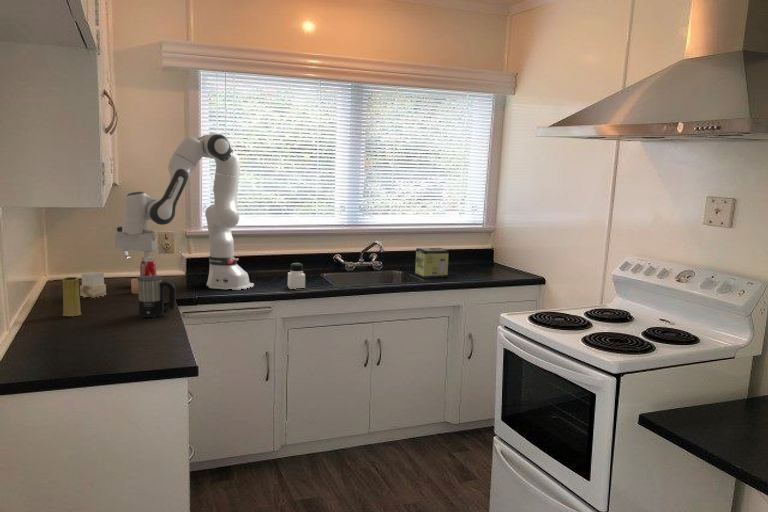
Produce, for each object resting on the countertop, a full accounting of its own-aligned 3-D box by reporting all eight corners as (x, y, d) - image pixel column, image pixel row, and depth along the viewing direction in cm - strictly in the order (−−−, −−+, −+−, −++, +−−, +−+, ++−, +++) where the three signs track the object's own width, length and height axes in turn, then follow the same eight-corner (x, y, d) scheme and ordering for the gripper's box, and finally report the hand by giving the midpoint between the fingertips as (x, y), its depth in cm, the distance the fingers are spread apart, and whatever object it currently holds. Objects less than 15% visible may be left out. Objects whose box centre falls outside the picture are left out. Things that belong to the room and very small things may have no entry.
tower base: (106, 295, 256) (105, 284, 256) (93, 298, 250) (92, 287, 249) (93, 293, 259) (93, 282, 258) (80, 297, 252) (80, 285, 251)
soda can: (137, 285, 279) (136, 260, 277) (149, 282, 285) (148, 258, 283) (147, 287, 275) (147, 261, 274) (159, 284, 282) (159, 259, 280)
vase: (64, 314, 224) (62, 277, 222) (82, 313, 226) (80, 276, 224) (61, 318, 218) (60, 280, 216) (80, 317, 221) (78, 279, 218)
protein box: (414, 275, 333) (415, 248, 330) (438, 274, 339) (440, 247, 336) (423, 278, 323) (424, 250, 321) (447, 277, 329) (449, 250, 327)
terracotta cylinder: (146, 292, 265) (145, 279, 264) (138, 294, 261) (137, 281, 260) (137, 291, 267) (136, 278, 266) (129, 293, 262) (128, 279, 261)
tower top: (104, 284, 255) (103, 273, 255) (92, 286, 250) (92, 275, 249) (93, 282, 257) (93, 271, 257) (82, 285, 252) (81, 273, 251)
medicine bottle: (305, 289, 285) (305, 264, 283) (290, 289, 282) (291, 265, 280) (301, 286, 291) (302, 262, 290) (287, 286, 289) (287, 262, 287)
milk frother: (138, 319, 222) (137, 280, 219) (136, 309, 236) (135, 272, 233) (178, 316, 228) (177, 278, 225) (173, 306, 242) (173, 271, 239)
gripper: (160, 230, 259) (160, 261, 261) (122, 226, 266) (123, 257, 268) (150, 231, 253) (150, 263, 255) (112, 227, 260) (112, 258, 262)
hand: (136, 260), depth 261 cm, fingers open, 8 cm apart
